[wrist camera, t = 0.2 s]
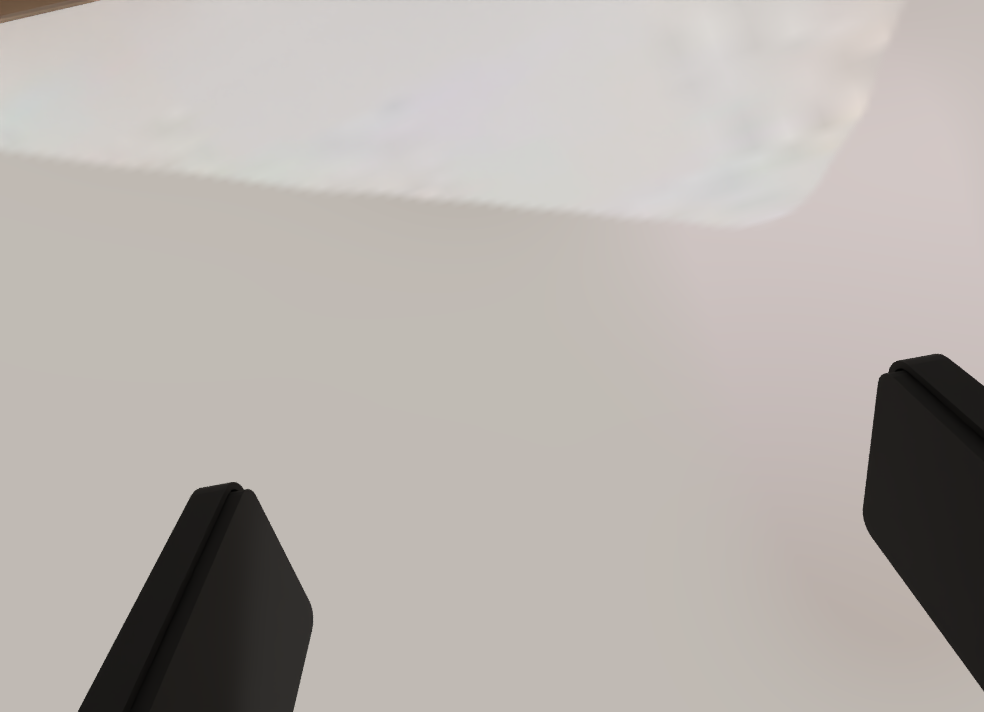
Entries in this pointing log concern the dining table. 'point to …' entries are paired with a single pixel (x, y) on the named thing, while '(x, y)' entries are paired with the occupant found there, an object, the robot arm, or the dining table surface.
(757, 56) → the dining table surface
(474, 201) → the dining table surface
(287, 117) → the dining table surface
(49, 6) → the walnut block
